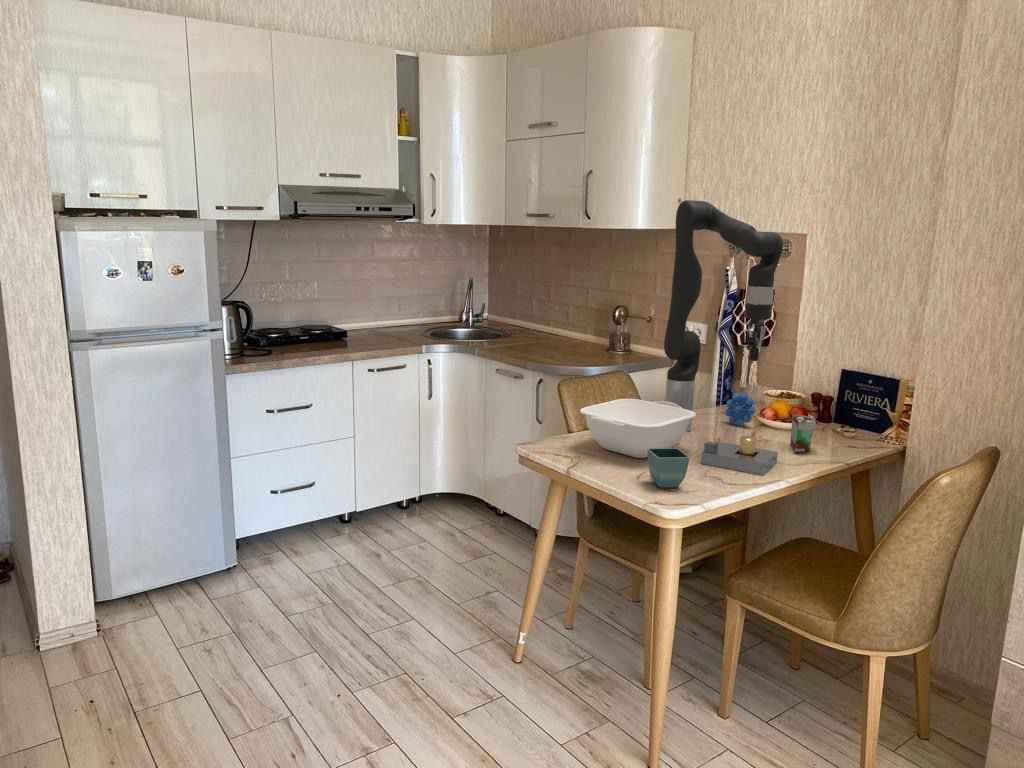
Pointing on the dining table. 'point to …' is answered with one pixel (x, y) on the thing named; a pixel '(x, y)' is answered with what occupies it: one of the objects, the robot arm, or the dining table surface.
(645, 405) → the white basin
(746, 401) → the blue knobby disc
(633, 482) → the dining table surface
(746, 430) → the dining table surface
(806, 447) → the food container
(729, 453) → the plate
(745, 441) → the gold peg
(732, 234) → the robot arm
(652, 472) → the flower pot
